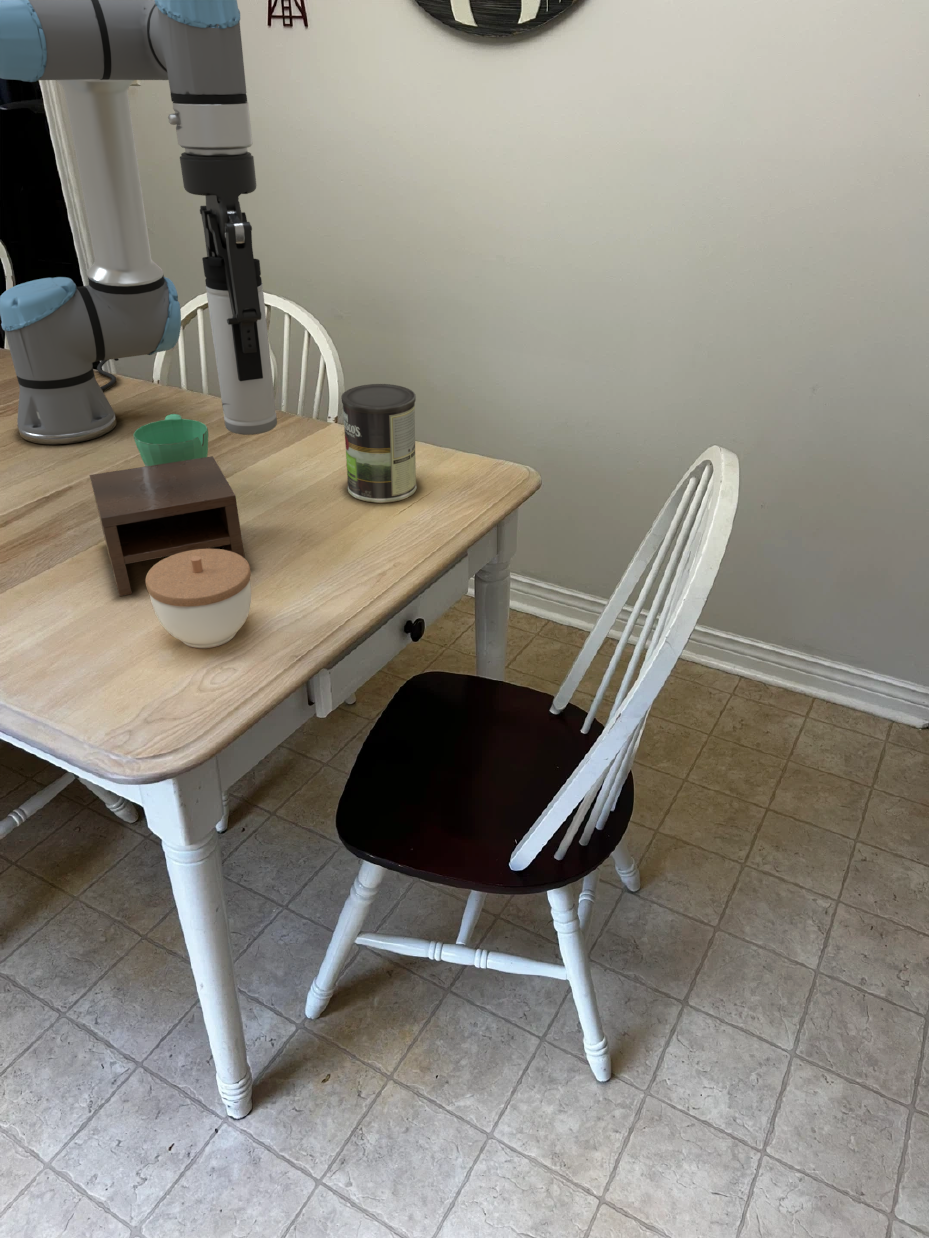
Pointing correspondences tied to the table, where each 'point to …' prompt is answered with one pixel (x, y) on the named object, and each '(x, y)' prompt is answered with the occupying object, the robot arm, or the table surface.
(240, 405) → the travel mug
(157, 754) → the table surface
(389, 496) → the coffee can
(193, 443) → the mug
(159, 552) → the shelf
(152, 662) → the table surface
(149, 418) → the table surface
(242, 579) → the trinket box
